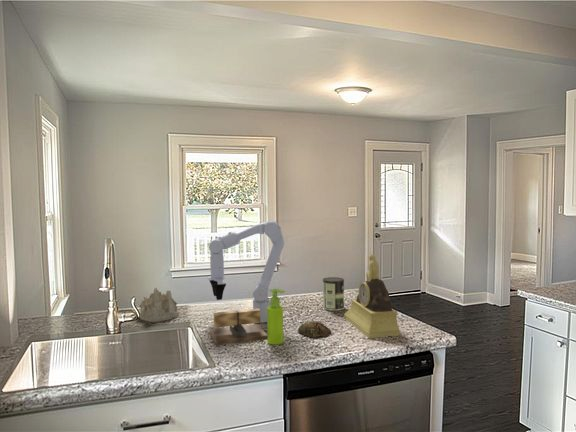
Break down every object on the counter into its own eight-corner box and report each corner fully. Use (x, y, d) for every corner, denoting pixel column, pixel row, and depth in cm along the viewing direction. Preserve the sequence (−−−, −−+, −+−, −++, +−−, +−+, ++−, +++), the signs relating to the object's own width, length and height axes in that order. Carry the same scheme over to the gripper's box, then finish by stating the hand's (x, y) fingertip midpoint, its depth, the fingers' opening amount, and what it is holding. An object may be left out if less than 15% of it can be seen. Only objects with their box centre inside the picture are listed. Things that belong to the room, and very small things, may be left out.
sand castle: (182, 316, 197) (179, 284, 196) (146, 324, 187) (143, 290, 187) (170, 311, 209) (167, 280, 209) (136, 319, 200) (133, 286, 199)
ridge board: (257, 326, 180) (257, 316, 180) (267, 338, 166) (267, 326, 166) (209, 332, 174) (209, 321, 174) (215, 344, 160) (215, 332, 159)
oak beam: (258, 320, 174) (258, 308, 174) (260, 322, 171) (260, 310, 171) (213, 325, 168) (213, 312, 168) (215, 327, 165) (214, 314, 165)
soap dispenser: (280, 346, 157) (279, 292, 156) (264, 342, 161) (263, 289, 160) (288, 341, 162) (288, 288, 161) (273, 338, 166) (272, 286, 165)
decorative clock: (344, 318, 192) (343, 251, 190) (371, 316, 195) (371, 250, 193) (368, 338, 164) (368, 260, 163) (399, 336, 167) (399, 259, 165)
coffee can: (343, 305, 214) (342, 276, 213) (345, 310, 203) (345, 281, 202) (322, 305, 214) (321, 277, 213) (323, 311, 203) (323, 281, 203)
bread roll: (294, 331, 176) (294, 318, 175) (321, 326, 180) (321, 315, 180) (308, 340, 164) (308, 327, 163) (337, 336, 169) (336, 323, 168)
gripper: (205, 264, 194) (206, 294, 195) (210, 270, 180) (211, 302, 181) (221, 263, 196) (221, 293, 197) (227, 269, 182) (227, 300, 183)
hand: (217, 297), depth 189 cm, fingers open, 7 cm apart
